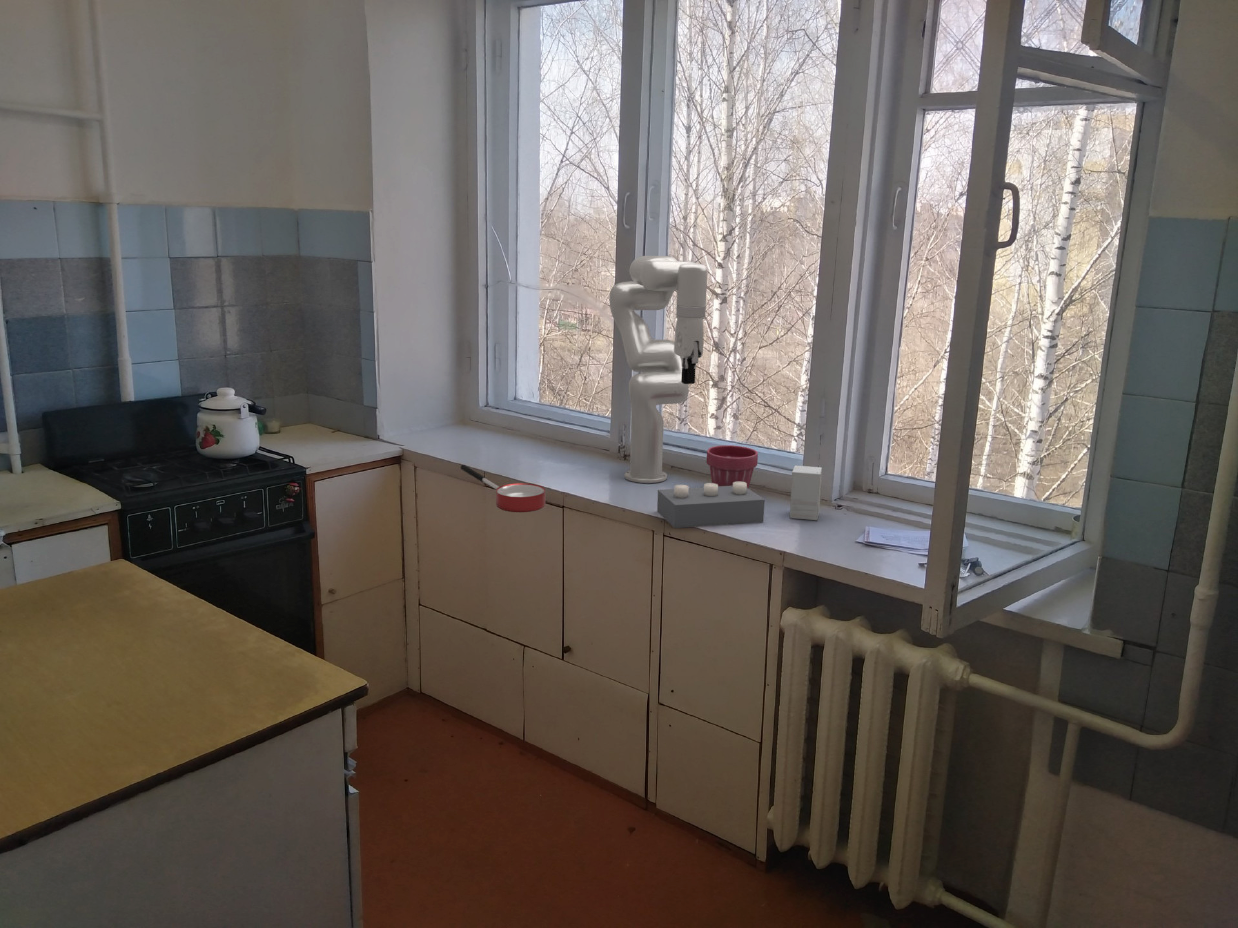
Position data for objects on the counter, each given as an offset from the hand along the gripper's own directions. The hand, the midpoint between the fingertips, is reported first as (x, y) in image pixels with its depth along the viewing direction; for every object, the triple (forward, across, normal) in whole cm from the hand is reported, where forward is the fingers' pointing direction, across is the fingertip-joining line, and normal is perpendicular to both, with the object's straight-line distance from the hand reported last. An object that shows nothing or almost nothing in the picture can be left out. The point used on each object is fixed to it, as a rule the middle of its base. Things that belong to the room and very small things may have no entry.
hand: (688, 383), depth 250 cm
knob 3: (+32, +12, +11) cm, 36 cm away
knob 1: (+32, +12, -5) cm, 34 cm away
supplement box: (+33, +16, +28) cm, 46 cm away
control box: (+33, +12, +3) cm, 35 cm away
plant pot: (+33, -6, +16) cm, 37 cm away
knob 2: (+32, +12, +3) cm, 34 cm away
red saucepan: (+33, -16, -48) cm, 61 cm away
